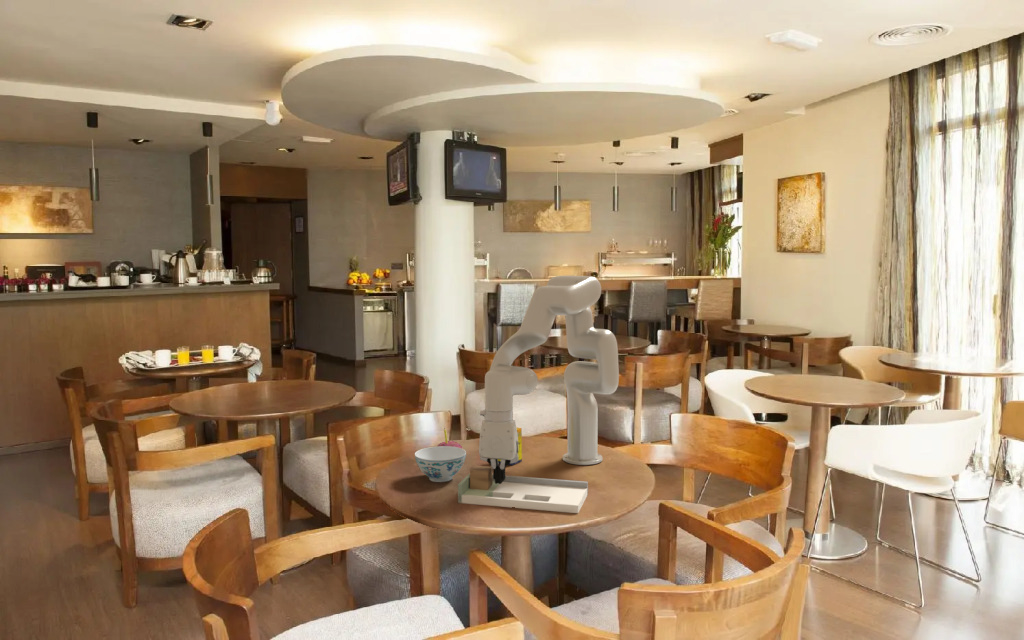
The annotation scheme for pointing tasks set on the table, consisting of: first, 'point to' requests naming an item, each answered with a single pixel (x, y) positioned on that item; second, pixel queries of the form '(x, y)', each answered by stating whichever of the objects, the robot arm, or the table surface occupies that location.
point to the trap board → (528, 494)
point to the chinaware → (440, 462)
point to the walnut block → (481, 477)
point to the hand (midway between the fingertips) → (499, 482)
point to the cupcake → (449, 442)
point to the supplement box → (519, 433)
